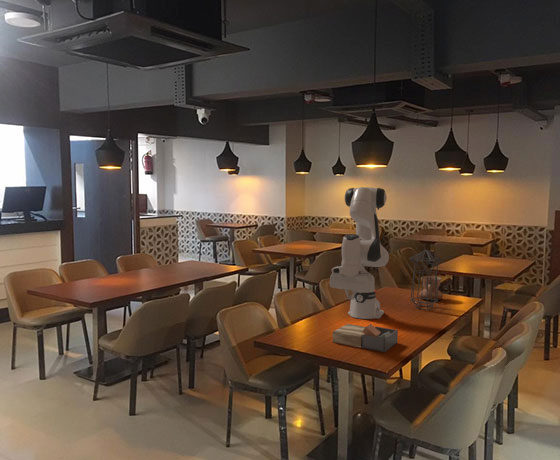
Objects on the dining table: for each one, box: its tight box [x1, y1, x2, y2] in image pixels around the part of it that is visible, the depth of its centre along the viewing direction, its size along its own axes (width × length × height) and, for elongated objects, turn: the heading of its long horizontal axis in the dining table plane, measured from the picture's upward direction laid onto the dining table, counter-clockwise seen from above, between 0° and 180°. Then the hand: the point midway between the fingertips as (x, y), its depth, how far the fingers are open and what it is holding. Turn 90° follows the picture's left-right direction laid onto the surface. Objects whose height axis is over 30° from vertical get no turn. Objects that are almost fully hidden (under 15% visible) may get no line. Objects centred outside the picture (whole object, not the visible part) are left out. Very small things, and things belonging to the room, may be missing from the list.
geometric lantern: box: [409, 249, 443, 311], centre depth 292 cm, size 16×16×35 cm
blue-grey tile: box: [379, 331, 390, 338], centre depth 220 cm, size 6×6×3 cm
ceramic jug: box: [418, 275, 443, 302], centre depth 315 cm, size 18×14×14 cm
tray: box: [361, 326, 399, 353], centre depth 220 cm, size 16×11×6 cm
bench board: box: [332, 323, 366, 349], centre depth 227 cm, size 16×14×5 cm
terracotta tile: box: [362, 323, 381, 337], centre depth 222 cm, size 6×6×3 cm
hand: (350, 299), depth 228 cm, fingers closed
